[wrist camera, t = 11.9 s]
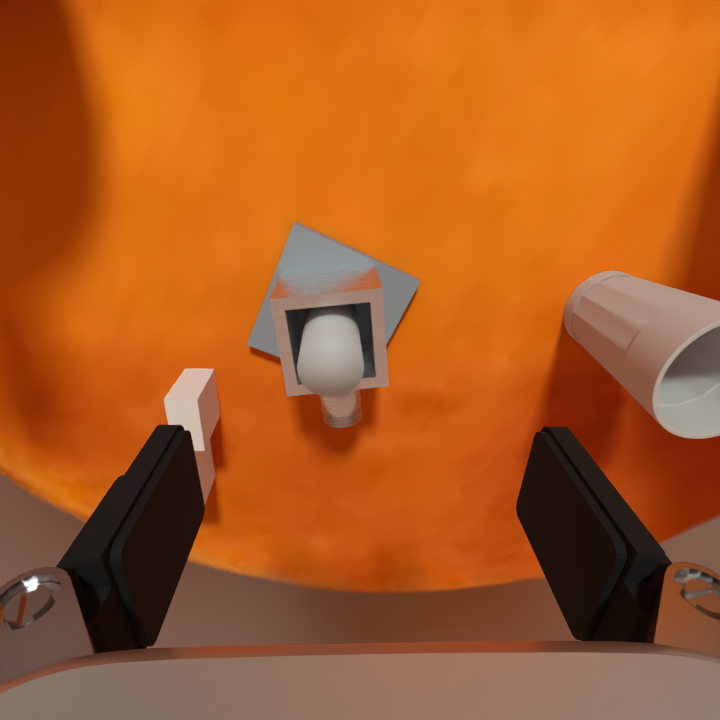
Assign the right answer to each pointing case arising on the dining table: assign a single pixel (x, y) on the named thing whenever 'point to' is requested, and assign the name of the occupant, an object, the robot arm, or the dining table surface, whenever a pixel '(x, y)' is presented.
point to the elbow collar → (322, 292)
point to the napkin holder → (196, 416)
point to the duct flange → (331, 314)
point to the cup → (653, 347)
